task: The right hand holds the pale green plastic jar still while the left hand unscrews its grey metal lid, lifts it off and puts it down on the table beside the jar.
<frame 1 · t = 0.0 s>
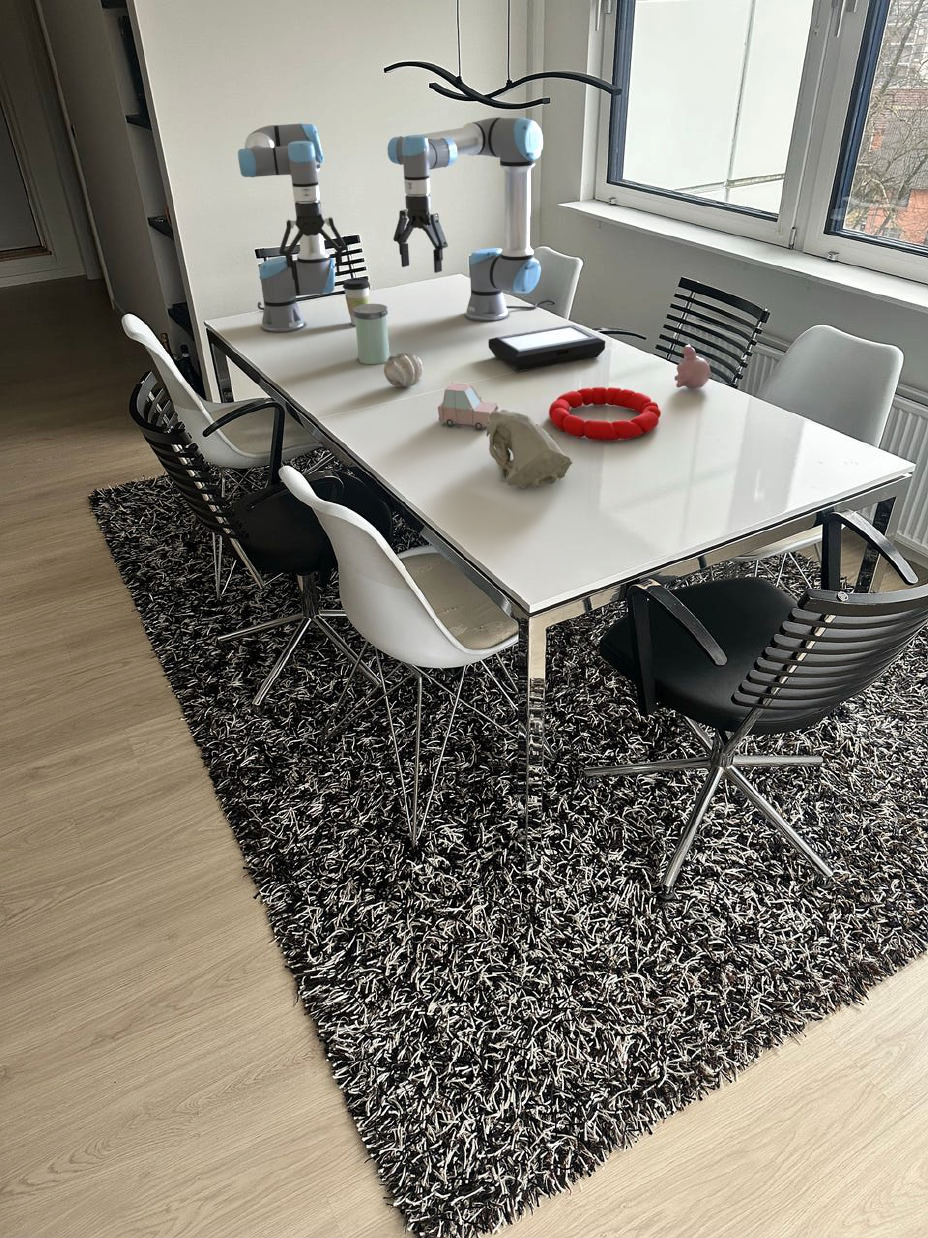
left hand: (316, 276, 273), 28 cm above the table, tool pointing down, fingers open, 13 cm apart
right hand: (421, 268, 277), 28 cm above the table, tool pointing down, fingers open, 13 cm apart
coffee cup: (360, 323, 327), on the table
electronic device: (546, 357, 290), on the table
seashell: (405, 386, 271), on the table
jar: (374, 359, 293), on the table
figurine: (690, 388, 263), on the table
toy car: (468, 423, 246), on the table
decorative ring: (603, 422, 244), on the table
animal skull: (520, 470, 220), on the table
lid: (370, 309, 284), point 16 cm above the table, screwed on, not yet turned
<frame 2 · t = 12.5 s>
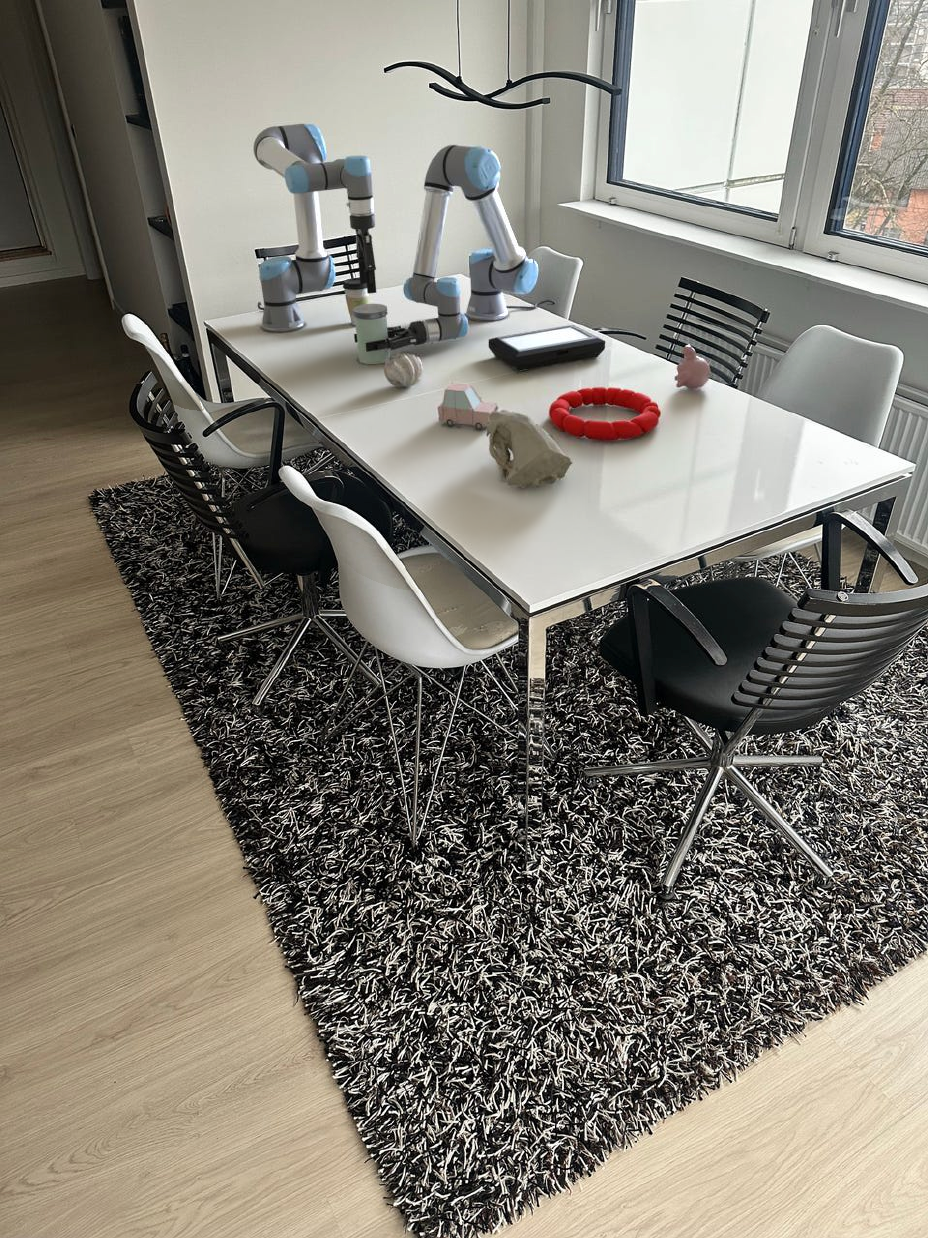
left hand: (368, 287, 280), 23 cm above the table, tool pointing down, fingers open, 12 cm apart
right hand: (360, 342, 288), 6 cm above the table, tool horizontal, fingers closed on jar, 10 cm apart
jar: (374, 359, 293), on the table, touching right hand
everything else where it was.
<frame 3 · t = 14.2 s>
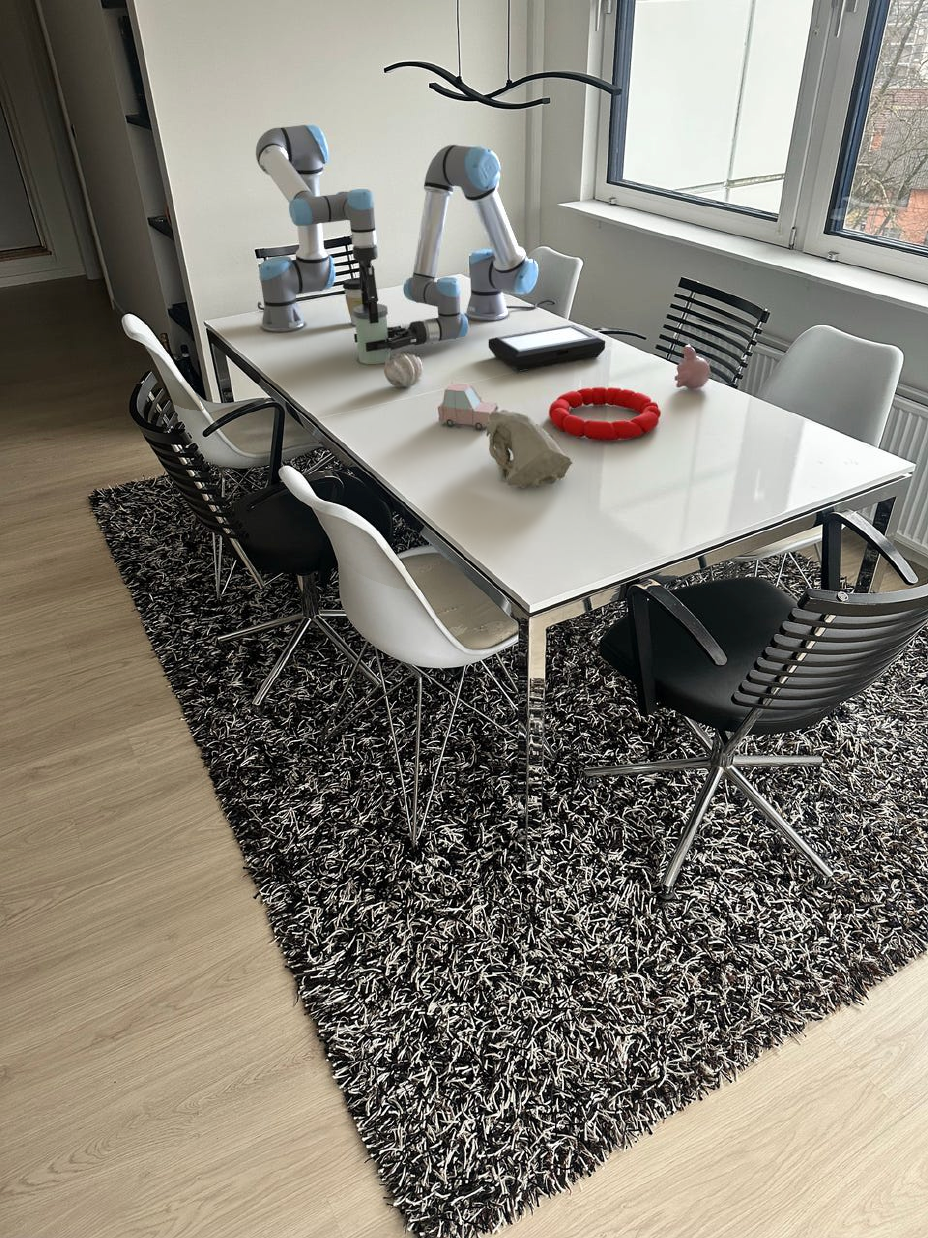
left hand: (370, 317, 286), 13 cm above the table, tool pointing down, fingers closed on lid, 11 cm apart
right hand: (360, 342, 288), 6 cm above the table, tool horizontal, fingers closed on jar, 10 cm apart
jar: (374, 359, 293), on the table, touching right hand
lid: (370, 309, 284), point 16 cm above the table, screwed on, not yet turned, touching left hand
everything else where it was.
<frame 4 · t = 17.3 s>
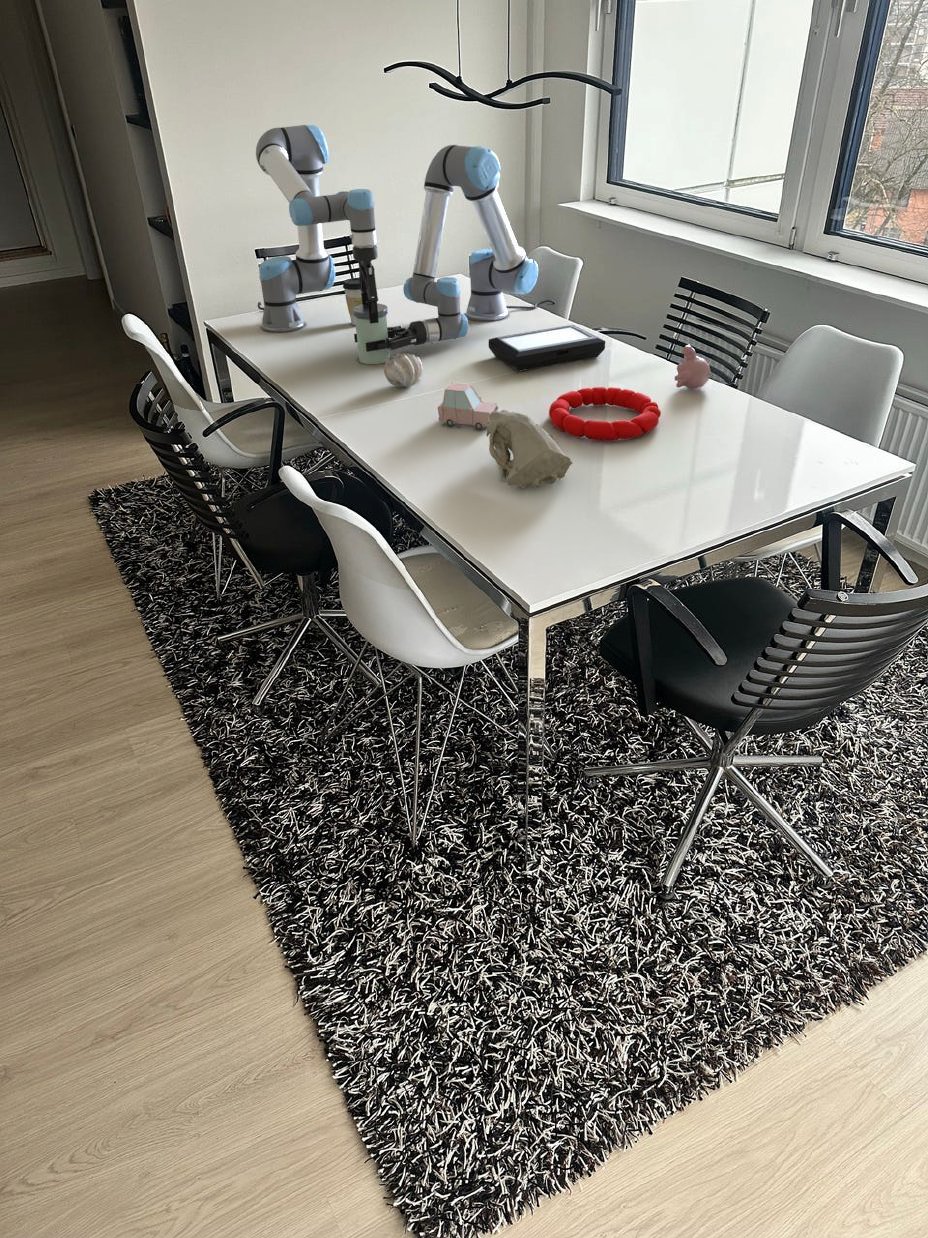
left hand: (370, 317, 286), 13 cm above the table, tool pointing down, fingers closed on lid, 11 cm apart
right hand: (360, 342, 288), 6 cm above the table, tool horizontal, fingers closed on jar, 10 cm apart
jar: (374, 359, 293), on the table, touching right hand
lid: (370, 308, 284), point 16 cm above the table, turned 86° so far, risen 0.1 cm, still on its thread, touching left hand
everything else where it was.
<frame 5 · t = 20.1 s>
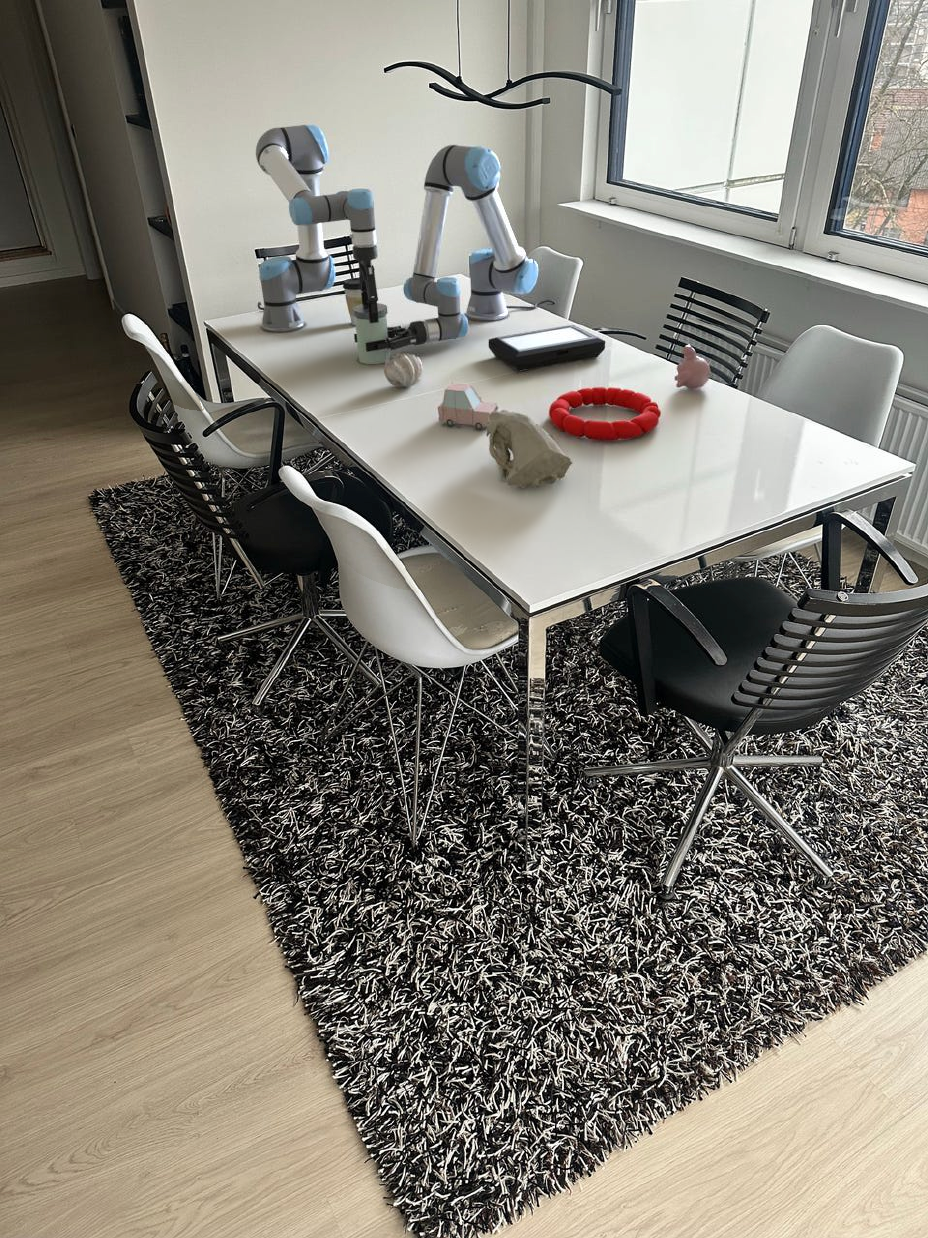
left hand: (370, 317, 286), 14 cm above the table, tool pointing down, fingers closed on lid, 11 cm apart
right hand: (360, 342, 288), 6 cm above the table, tool horizontal, fingers closed on jar, 10 cm apart
jar: (374, 359, 293), on the table, touching right hand
lid: (370, 308, 284), point 16 cm above the table, turned 171° so far, risen 0.2 cm, still on its thread, touching left hand
everything else where it was.
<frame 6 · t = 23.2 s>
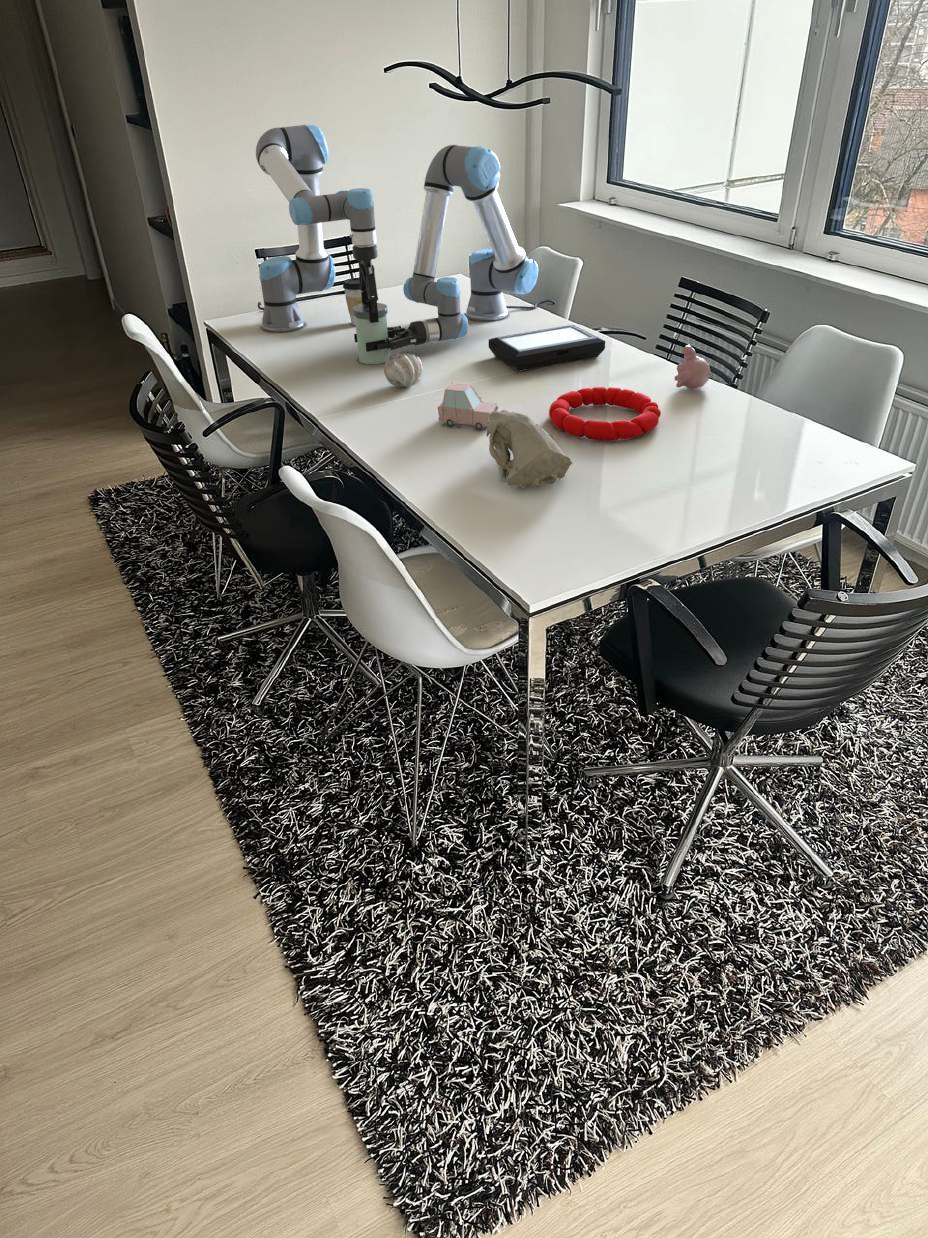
left hand: (370, 317, 286), 14 cm above the table, tool pointing down, fingers closed on lid, 11 cm apart
right hand: (360, 342, 288), 6 cm above the table, tool horizontal, fingers closed on jar, 10 cm apart
jar: (374, 359, 293), on the table, touching right hand
lid: (370, 308, 284), point 16 cm above the table, turned 257° so far, risen 0.3 cm, still on its thread, touching left hand
everything else where it was.
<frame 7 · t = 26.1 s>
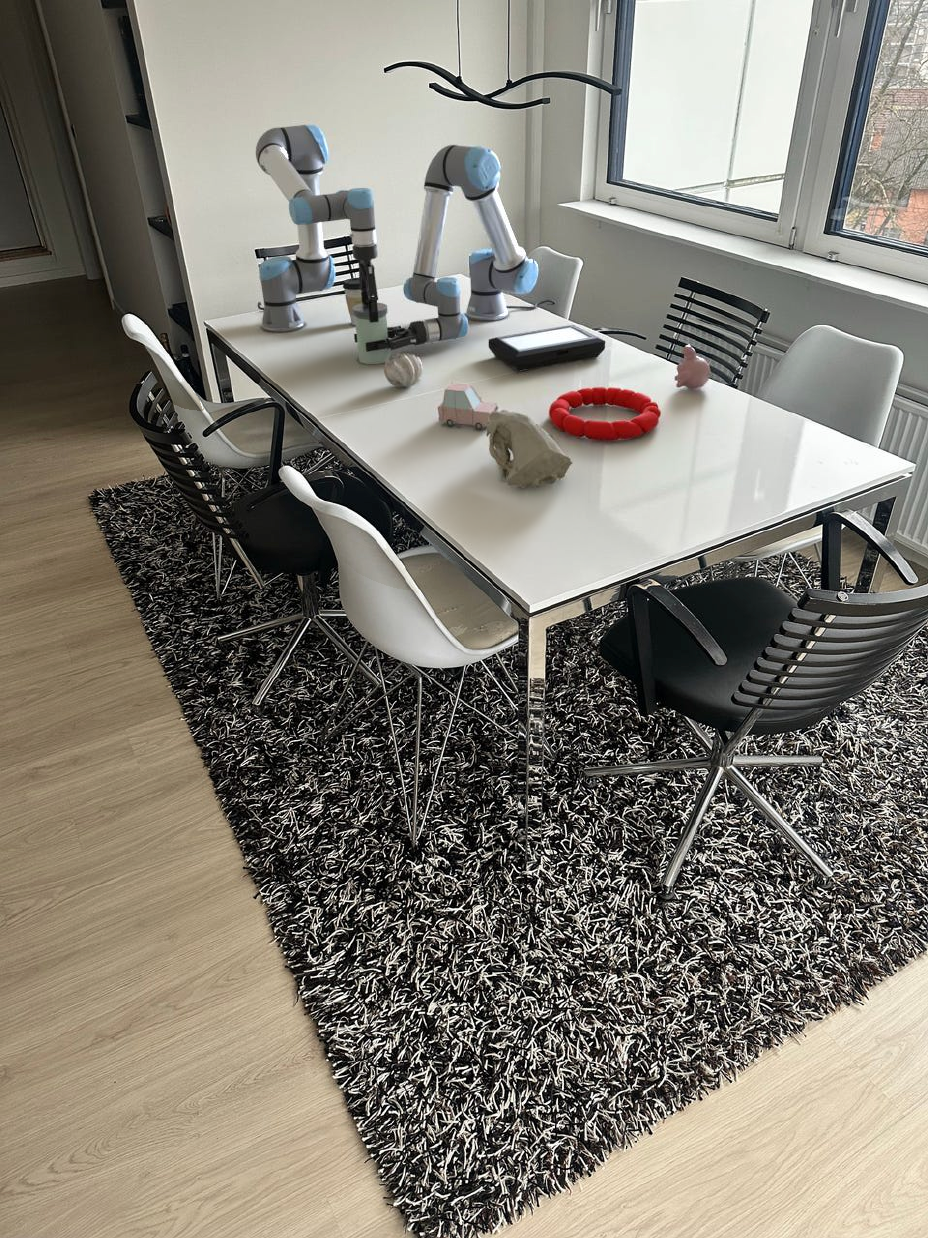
left hand: (370, 316, 286), 14 cm above the table, tool pointing down, fingers closed on lid, 11 cm apart
right hand: (360, 342, 288), 6 cm above the table, tool horizontal, fingers closed on jar, 10 cm apart
jar: (374, 359, 293), on the table, touching right hand
lid: (369, 308, 284), point 16 cm above the table, turned 343° so far, risen 0.4 cm, still on its thread, touching left hand
everything else where it was.
when the left hand's fingers open (0 cm above the table, at t = 35.7 s): lid drops 2 cm, point 1 cm above the table.
when the right hand's fingers open (6 cm above the table, at t = 36.7 s): jar stays where it is, on the table.
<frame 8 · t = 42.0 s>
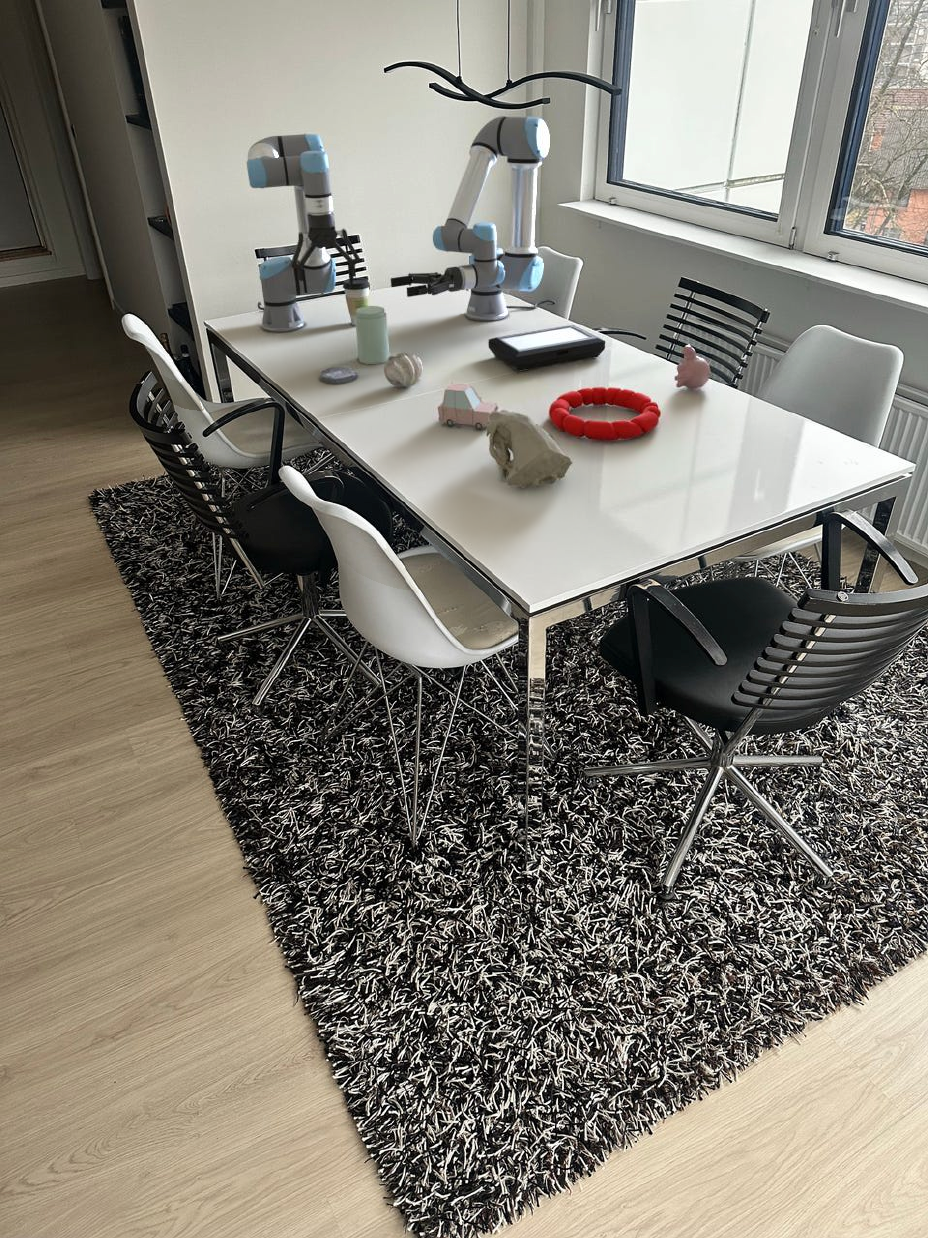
left hand: (328, 289, 264), 27 cm above the table, tool pointing down, fingers open, 13 cm apart
right hand: (399, 287, 285), 21 cm above the table, tool horizontal, fingers open, 13 cm apart
jar: (374, 359, 293), on the table
lid: (338, 373, 279), point 1 cm above the table, off its thread
everything else where it was.
at the end: lid came off its thread; lid point 1.5 cm above the table; the left hand is holding nothing; the right hand is holding nothing; jar tilted 0°; jar moved 0.0 cm from its start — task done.
